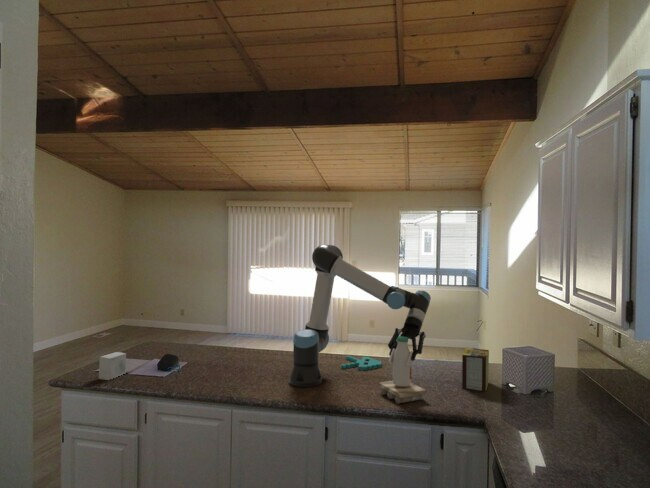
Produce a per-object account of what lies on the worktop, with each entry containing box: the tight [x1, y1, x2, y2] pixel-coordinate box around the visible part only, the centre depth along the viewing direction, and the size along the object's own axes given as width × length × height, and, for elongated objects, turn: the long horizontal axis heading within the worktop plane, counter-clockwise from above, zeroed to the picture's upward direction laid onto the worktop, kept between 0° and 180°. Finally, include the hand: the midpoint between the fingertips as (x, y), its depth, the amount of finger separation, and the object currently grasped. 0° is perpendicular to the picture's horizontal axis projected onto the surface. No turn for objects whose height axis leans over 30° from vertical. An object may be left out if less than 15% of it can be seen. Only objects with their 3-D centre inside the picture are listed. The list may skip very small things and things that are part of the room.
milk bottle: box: [392, 335, 412, 387], centre depth 182 cm, size 8×8×20 cm
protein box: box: [461, 347, 490, 393], centre depth 199 cm, size 10×15×16 cm
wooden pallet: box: [378, 380, 427, 405], centre depth 182 cm, size 16×13×4 cm
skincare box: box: [98, 351, 127, 381], centre depth 204 cm, size 10×6×10 cm, turn 161°
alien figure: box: [340, 355, 383, 371], centre depth 231 cm, size 20×2×20 cm
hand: (398, 364), depth 179 cm, fingers closed on milk bottle, 7 cm apart
